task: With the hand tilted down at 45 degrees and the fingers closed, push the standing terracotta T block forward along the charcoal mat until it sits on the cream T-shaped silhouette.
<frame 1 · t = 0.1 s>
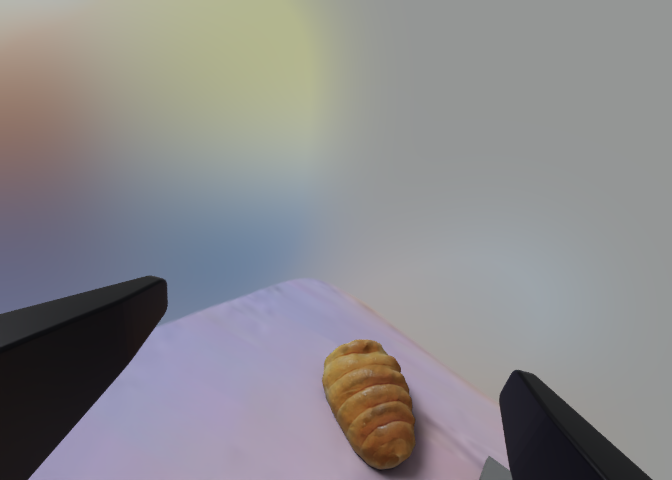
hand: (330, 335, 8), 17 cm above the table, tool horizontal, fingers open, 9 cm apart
pastry: (366, 405, 26), on the table
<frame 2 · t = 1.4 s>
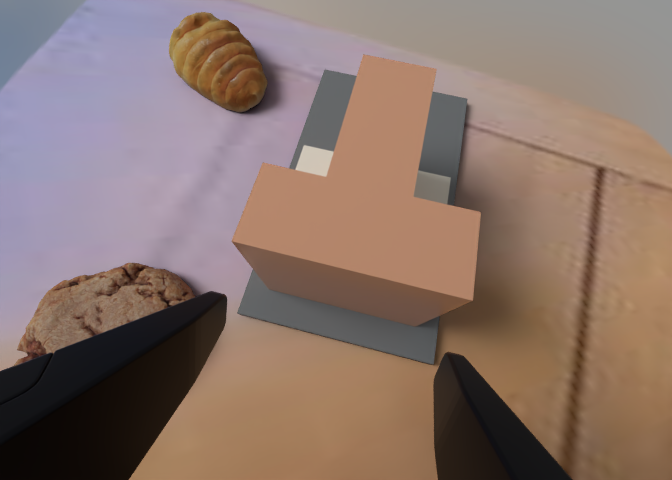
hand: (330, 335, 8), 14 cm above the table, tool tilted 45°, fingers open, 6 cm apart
board: (377, 155, 27), on the table
tee: (360, 227, 23), point 1 cm above the table, touching board
pastry: (226, 77, 30), on the table
cookie: (122, 337, 21), on the table
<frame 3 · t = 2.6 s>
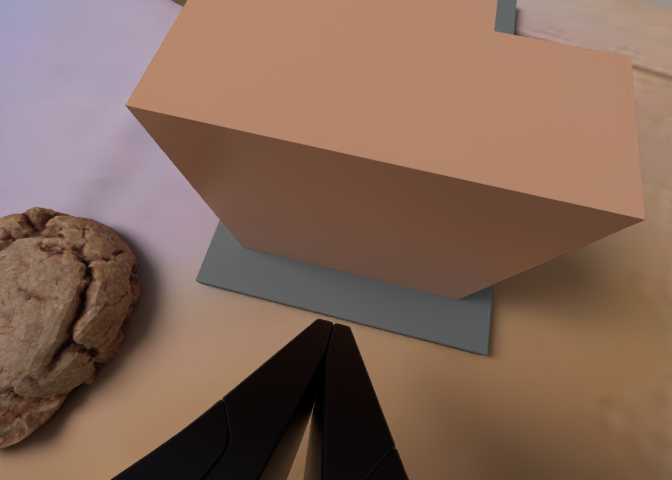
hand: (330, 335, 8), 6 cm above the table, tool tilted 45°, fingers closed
board: (396, 71, 19), on the table
tee: (374, 162, 16), point 1 cm above the table, touching board
cookie: (31, 316, 15), on the table
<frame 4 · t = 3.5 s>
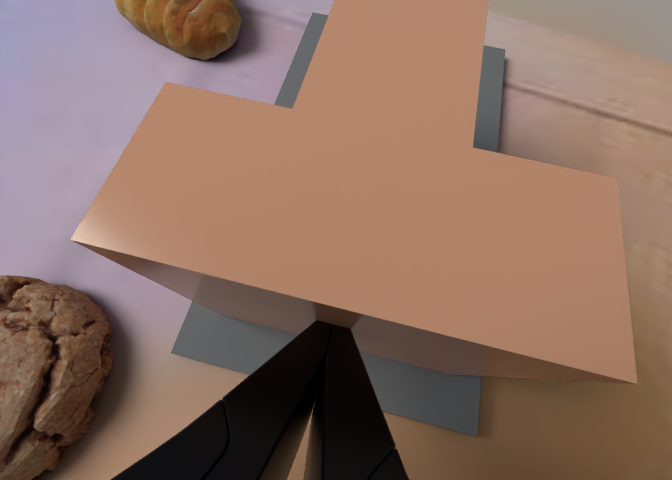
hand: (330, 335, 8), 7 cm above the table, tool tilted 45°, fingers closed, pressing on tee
board: (384, 123, 19), on the table
tee: (360, 222, 16), point 1 cm above the table, touching board, gripper
pastry: (188, 19, 23), on the table
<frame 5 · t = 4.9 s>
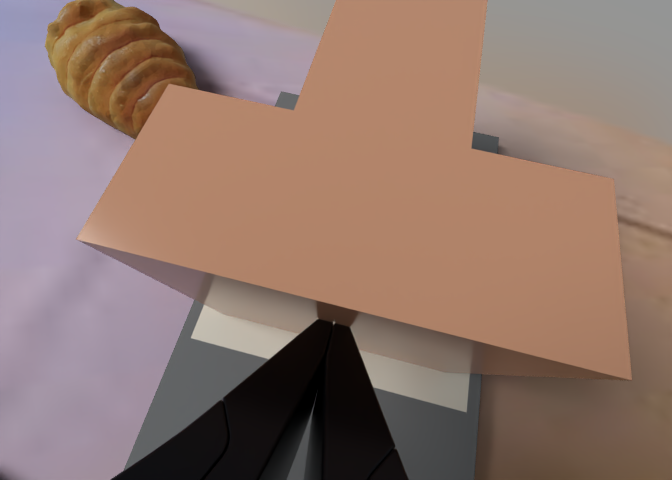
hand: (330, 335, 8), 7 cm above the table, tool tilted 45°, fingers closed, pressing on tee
board: (358, 231, 17), on the table
tee: (360, 221, 16), point 1 cm above the table, touching board, gripper
pastry: (145, 92, 20), on the table
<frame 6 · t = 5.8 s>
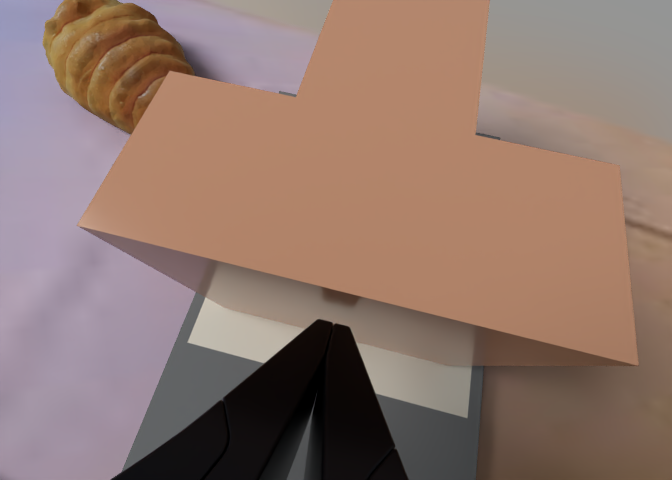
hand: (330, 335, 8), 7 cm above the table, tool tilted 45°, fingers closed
board: (358, 233, 16), on the table
tee: (362, 215, 16), point 1 cm above the table, touching board
pastry: (145, 89, 20), on the table
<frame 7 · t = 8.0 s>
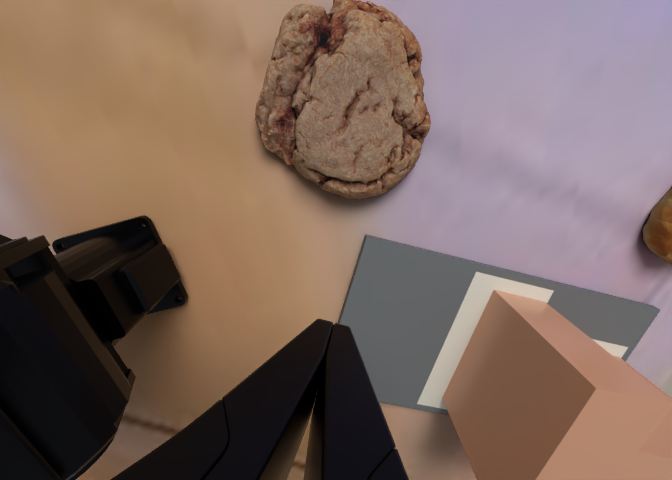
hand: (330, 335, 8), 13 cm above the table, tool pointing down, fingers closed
board: (524, 355, 25), on the table
tee: (537, 362, 25), point 1 cm above the table, touching board
cookie: (347, 108, 19), on the table
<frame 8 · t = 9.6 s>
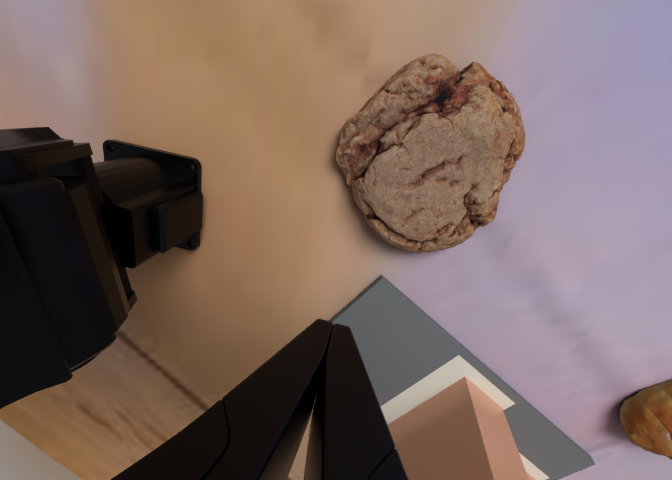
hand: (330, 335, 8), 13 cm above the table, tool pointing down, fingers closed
board: (458, 438, 26), on the table
tee: (466, 450, 26), point 1 cm above the table, touching board
cookie: (426, 161, 19), on the table
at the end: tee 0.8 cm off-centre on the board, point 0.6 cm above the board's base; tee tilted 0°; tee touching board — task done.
